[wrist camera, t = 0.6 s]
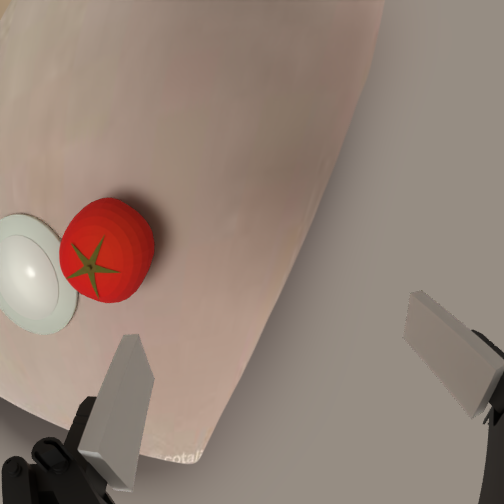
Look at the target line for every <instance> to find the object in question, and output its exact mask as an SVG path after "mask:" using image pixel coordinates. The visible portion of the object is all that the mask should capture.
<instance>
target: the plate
mask: <svg viewBox="0 0 504 504" xmlns="http://www.w3.org/2000/svg"><path fill="white" fill-rule="evenodd" d="M60 243H61V239H60V238H59V237H58V235H57V234H56V233H55V232H54V231H53V230H52V229H51V228H50V227H49V226H48V225H47V224H45V223H44V222H43V221H41V220H39V219H38V218H36V217H33V216H31V215H27V214H13V215H10V216H7V217H4V218H3V219H1V220H0V309H1V310H2V311H3V312H4V313H5V315H6V316H7V317H8V318H9V319H10V320H11V321H13V322H14V323H15V324H16V325H18V326H19V327H21V328H23V329H25V330H26V331H29V332H31V333H35V334H41V335H48V334H53V333H56V332H58V331H60V330H61V329H62V328H64V327H65V326H66V325H67V323H68V322H69V321H70V319H71V318H72V316H73V314H74V312H75V310H76V306H77V301H78V291H77V290H75V289H74V288H73V287H72V286H71V285H70V284H69V282H68V281H67V280H66V278H65V277H64V275H63V273H62V270H61V267H60V262H59V248H60Z"/></svg>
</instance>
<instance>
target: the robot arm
mask: <svg viewBox="0 0 504 504" xmlns="http://www.w3.org/2000/svg"><path fill="white" fill-rule="evenodd" d="M403 338H404V340H405V341H406V342H407V343H408V344H409V345H410V346H411V348H412V349H413V350H414V351H415V352H416V353H417V354H418V355H419V357H420V358H421V359H422V360H423V361H424V363H425V364H426V365H427V366H428V367H429V368H430V369H431V371H432V372H433V373H434V374H435V375H436V377H437V378H438V379H439V380H440V381H441V383H442V384H443V385H444V386H445V387H446V389H447V390H448V391H449V392H450V393H451V395H452V396H453V397H454V398H455V399H456V401H457V402H458V403H459V405H460V406H461V407H462V408H463V410H464V411H465V412H466V413H467V415H468V416H469V417H470V418H471V419H472V418H474V417H476V416H477V415H479V414H481V413H482V412H483V411H484V410H485V408H486V406H487V404H488V402H489V403H490V404H491V405H492V407H491V409H490V411H489V412H488V414H487V416H486V418H485V419H484V421H483V424H485V423H486V421H487V420H488V418H489V423H488V425H489V432H488V445H487V455H486V463H485V470H484V477H483V483H482V488H481V493H480V498H479V503H478V504H504V353H503V352H502V351H501V350H500V349H499V348H498V347H497V346H494V344H493V343H492V342H491V341H489V340H488V339H487V338H486V337H485V336H484V335H483V334H481V333H479V332H477V331H475V330H470V329H469V328H467V327H466V326H465V325H464V324H463V323H461V322H460V321H459V320H458V319H457V318H456V317H454V316H453V315H452V314H451V313H449V312H448V311H447V310H446V309H445V308H443V307H442V306H441V305H440V304H438V303H437V302H436V301H435V300H433V299H432V298H431V297H430V296H428V295H427V294H426V293H424V292H423V291H422V290H421V291H417V292H413V293H410V298H409V305H408V311H407V317H406V323H405V329H404V334H403ZM154 379H155V378H154V376H153V373H152V371H151V368H150V365H149V363H148V360H147V357H146V354H145V351H144V349H143V346H142V343H141V340H140V337H139V334H131V335H123V337H122V339H121V342H120V344H119V346H118V348H117V351H116V353H115V355H114V357H113V360H112V362H111V364H110V367H109V369H108V371H107V374H106V376H105V379H104V381H103V383H102V386H101V388H100V391H99V393H98V396H97V397H90V396H88V397H87V398H86V399H85V400H84V401H83V402H82V403H81V404H80V406H79V408H78V411H77V413H76V416H75V418H74V420H73V424H72V425H71V427H70V430H69V432H68V435H67V438H66V440H65V443H64V445H63V444H62V443H61V441H60V440H58V439H56V438H54V437H47V438H43V439H41V440H40V441H38V442H37V443H36V444H35V445H34V447H33V449H32V452H31V453H32V459H33V460H34V461H35V462H36V463H37V464H28V463H27V462H26V461H25V460H24V459H23V458H22V457H19V456H13V457H11V458H9V459H7V460H6V461H5V463H4V464H3V467H2V496H3V504H115V503H114V501H113V500H112V498H111V497H110V496H109V494H108V493H107V492H106V486H107V483H108V484H109V485H110V486H111V487H112V488H113V489H114V490H119V491H127V492H133V486H134V480H135V474H136V468H137V462H138V457H139V451H140V446H141V440H142V435H143V430H144V425H145V420H146V415H147V410H148V406H149V401H150V397H151V392H152V388H153V383H154Z"/></svg>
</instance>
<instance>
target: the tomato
mask: <svg viewBox="0 0 504 504" xmlns="http://www.w3.org/2000/svg"><path fill="white" fill-rule="evenodd" d="M153 255H154V238H153V233H152V230H151V228H150V226H149V224H148V223H147V222H146V220H145V219H144V218H143V217H142V216H141V215H140V214H139V213H138V212H137V211H136V210H134V209H133V208H132V207H130V206H129V205H127V204H125V203H124V202H122V201H120V200H118V199H114V198H102V199H99V200H96V201H94V202H91V203H90V204H88V205H87V206H86V207H84V208H83V209H82V210H81V211H80V212H79V213H78V214H77V215H76V216H75V217H74V218H73V220H72V221H71V222H70V224H69V226H68V227H67V229H66V231H65V233H64V235H63V238H62V240H61V243H60V248H59V262H60V267H61V270H62V273H63V275H64V277H65V278H66V280H67V281H68V282H69V284H70V285H71V286H72V287H73V288H74V289H75V290H77V291H78V292H79V293H81V294H83V295H85V296H87V297H89V298H92V299H94V300H97V301H100V302H104V303H115V302H121V301H123V300H126V299H127V298H129V297H130V296H131V295H132V294H133V293H135V292H136V291H137V289H138V288H139V286H140V285H141V283H142V282H143V280H144V278H145V276H146V274H147V272H148V270H149V267H150V265H151V261H152V258H153Z"/></svg>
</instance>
